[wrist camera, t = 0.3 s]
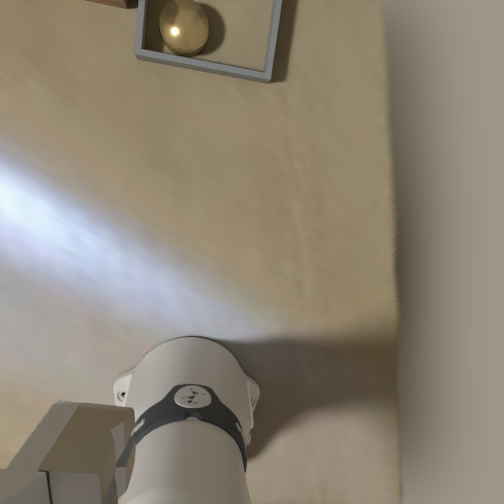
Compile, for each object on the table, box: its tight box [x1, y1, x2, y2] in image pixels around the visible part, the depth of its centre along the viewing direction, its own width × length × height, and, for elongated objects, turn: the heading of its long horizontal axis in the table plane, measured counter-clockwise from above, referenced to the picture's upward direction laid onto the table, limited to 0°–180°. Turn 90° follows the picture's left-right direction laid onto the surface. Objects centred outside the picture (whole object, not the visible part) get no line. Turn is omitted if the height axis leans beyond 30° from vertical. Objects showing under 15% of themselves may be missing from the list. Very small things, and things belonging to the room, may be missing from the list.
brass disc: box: [159, 0, 209, 57], centre depth 40 cm, size 5×5×2 cm
